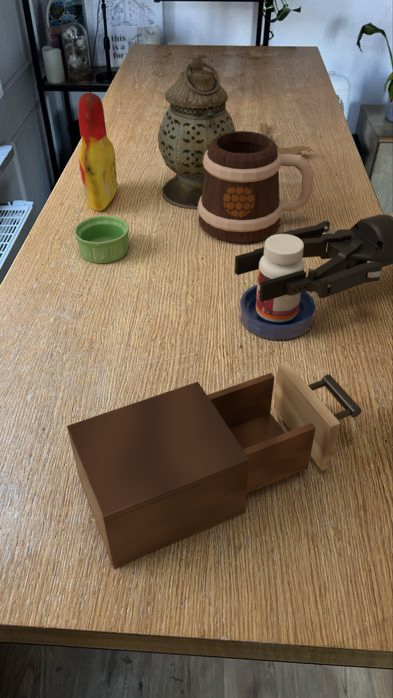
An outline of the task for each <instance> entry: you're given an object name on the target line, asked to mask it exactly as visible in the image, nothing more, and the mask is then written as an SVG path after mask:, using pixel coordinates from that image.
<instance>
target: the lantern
mask: <svg viewBox="0 0 393 698" xmlns="http://www.w3.org/2000/svg"><path fill="white" fill-rule="evenodd" d="M187 64H188V66H187V67H186V68H185V70H184V71H182V72H180V74H179V76H178V77H177V79H176V80H175V82H174V83H172V85H171V86H170V87H169V88H168V89H167V90H166V91H165V92H164V100H165V101H166V102H167V103H169V106H168V108H167V110H166V111H165V114H164V115H163V117H162V120H161V123H160V126H159V130H158V132H157V142H158V143H157V145H158V150H159V152H160V154H161V157H162V159H163V161H164V164H165V165H166V167H168V168H169V169H170V170H171V171H172V172H173V173H174V174H175V175H174V176H173V177H171V179H169V180H168V181H167V182H166V183H165V184H164V185H163V186H162V187H161V192H162V197H163V199H164V200H165V202H167V203H169V204H170V205H172V206H175V207H177V208H181V209H189V210H198V203H199V200H200V198H201V196H202V191H203V182H204V173H205V168H204V164H203V159H204V155H205V153H206V151H207V150H208V147H209V144H210V142H211V141H212V140H214V139H215V138H216V137H218V136H219V135H222V134H224V133H228V132H234V131H236V127H235V124H234V121H233V118H232V116H231V114H230V112H229V111H228V110H227V105H226V104H227V102H228V100H229V97H228V92H227V91H226V89H224V87H223V86H222V85H221V79H220V76H219V74H218V72H217V70H216V69H215V68H214V67H213V66H212V65H210V64H209V63H206V62H204V60H203V59H202V57H200V56H199V55H193V56H192V57H190V58H189V60H188V63H187ZM204 68H206V69H204ZM207 69H208V70H207Z"/></svg>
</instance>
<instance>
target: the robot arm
mask: <svg viewBox="0 0 393 698" xmlns="http://www.w3.org/2000/svg"><path fill="white" fill-rule="evenodd" d="M276 234H289V235H293V236H296V237H298V238H299V239H301V240H302V242H303V244H304V249H303V257H302V259H304V258H318V257H319V258H320V259H321V260H327V261H325V262H324V263H322V264H321V265H319V266H318V267H316V268H314V269H312V268H310V267H309V269H308V274H307V272H306V270H305V269H304V270H301V271H298V272H294V273H291V274H287V275H284V276H280V277H277V278H273V279H270V280H267V281H263V282H260V292H259V300H260V301H261V302H264V301H268V300H271V299H274V298H278V297H281V296H284V295H288V296H291V295H295V294H298V293H302V292H305V291H306V292H307V293H316V294H317V297H318V298H319V299H326V298H328V297H332V296H334V295H337V294H339V293H343V292H344V291H347V290H350V289H352V288H356V287H359V286H360V285H363V284H367V283H368V284H369V283H376V282H380V280H381V275H382V271H383V268H385V267H389V266H392V265H393V211H389V212H384V213H381V214H376V215H371V216H368V217H365V218H361V219H359V220H358V221H357V222H356V223H355V224H354V225H353V226H351V227H350V228H341V229H337V230H336V229H334V228H333V227H331V222H330V221H329V220H323V221H321V222H319V223H317V224H314V225H308V226H305V227H300V228H295V229H290V230H285V231H281V232H275V233H273V234H272V235H271V236H273V235H276ZM264 247H265V246H263V247H259V248H255V249H254V250H252V251H249V252H245V253H241V254H238V255H235V256H234V274H235V275H236V276H240V275H244V274H247V273H250V272H254V271H259V262H260V259H261V258H262V256H263V255H264Z"/></svg>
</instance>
